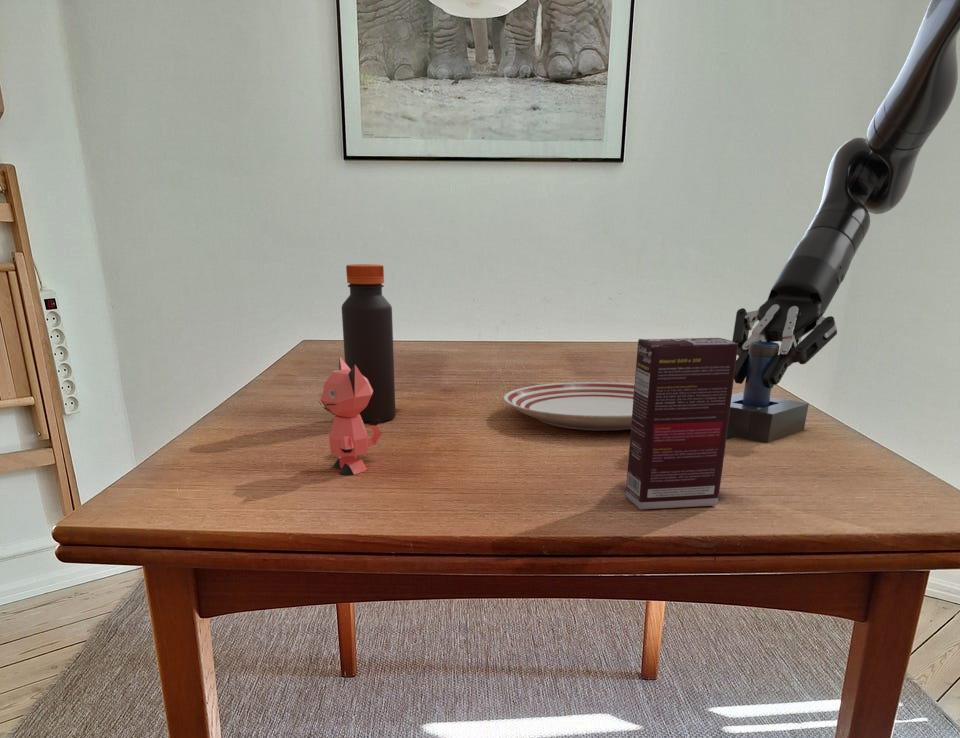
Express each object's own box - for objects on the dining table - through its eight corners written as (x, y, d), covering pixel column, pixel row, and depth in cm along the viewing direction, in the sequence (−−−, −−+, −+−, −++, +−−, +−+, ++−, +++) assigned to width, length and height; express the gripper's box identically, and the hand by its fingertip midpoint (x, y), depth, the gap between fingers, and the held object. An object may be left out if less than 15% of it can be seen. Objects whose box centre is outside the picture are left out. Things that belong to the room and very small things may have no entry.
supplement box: (699, 493, 89) (720, 336, 82) (718, 507, 85) (742, 343, 78) (621, 496, 88) (636, 337, 81) (637, 511, 84) (653, 344, 77)
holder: (802, 437, 112) (809, 403, 110) (766, 450, 106) (772, 414, 104) (735, 424, 119) (740, 392, 116) (697, 436, 112) (701, 402, 110)
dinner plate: (464, 414, 123) (464, 391, 121) (591, 392, 139) (592, 371, 137) (606, 452, 104) (608, 425, 103) (733, 421, 120) (736, 397, 119)
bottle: (353, 424, 116) (344, 266, 107) (343, 414, 122) (334, 263, 113) (400, 421, 118) (395, 266, 109) (389, 411, 124) (384, 263, 115)
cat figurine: (316, 463, 98) (307, 356, 93) (372, 457, 101) (367, 353, 95) (332, 479, 93) (324, 366, 87) (391, 473, 95) (387, 363, 90)
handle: (772, 422, 111) (785, 343, 107) (758, 426, 109) (771, 346, 105) (747, 418, 114) (758, 340, 109) (733, 422, 111) (744, 343, 107)
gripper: (756, 251, 111) (694, 356, 109) (862, 255, 102) (798, 370, 100) (768, 291, 117) (711, 392, 115) (870, 299, 108) (809, 408, 106)
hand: (752, 381), depth 108 cm, fingers closed on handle, 3 cm apart
